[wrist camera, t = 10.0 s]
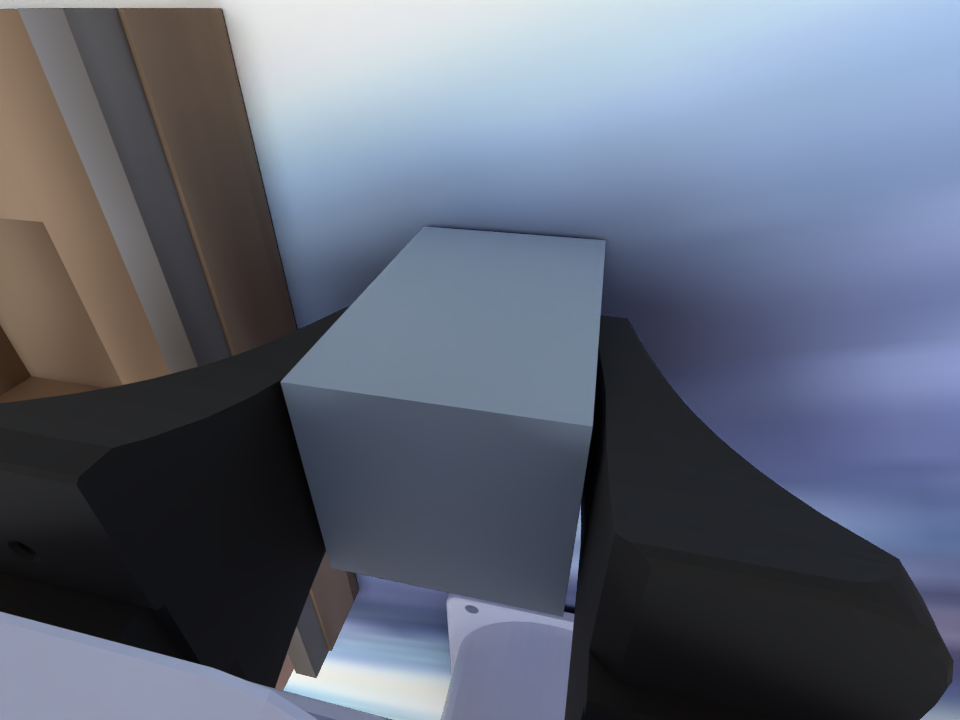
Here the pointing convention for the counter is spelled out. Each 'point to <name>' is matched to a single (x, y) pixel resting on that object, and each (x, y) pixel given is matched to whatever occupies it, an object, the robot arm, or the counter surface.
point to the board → (136, 220)
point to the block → (457, 415)
